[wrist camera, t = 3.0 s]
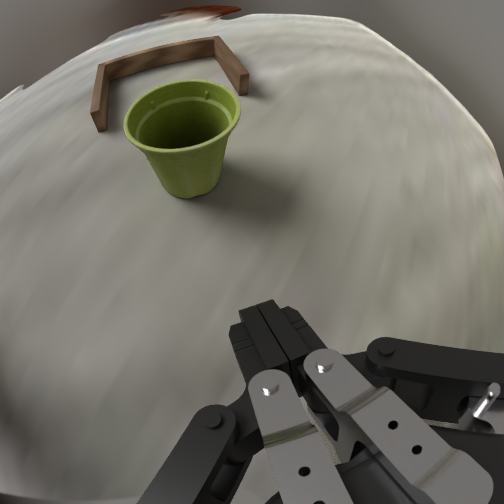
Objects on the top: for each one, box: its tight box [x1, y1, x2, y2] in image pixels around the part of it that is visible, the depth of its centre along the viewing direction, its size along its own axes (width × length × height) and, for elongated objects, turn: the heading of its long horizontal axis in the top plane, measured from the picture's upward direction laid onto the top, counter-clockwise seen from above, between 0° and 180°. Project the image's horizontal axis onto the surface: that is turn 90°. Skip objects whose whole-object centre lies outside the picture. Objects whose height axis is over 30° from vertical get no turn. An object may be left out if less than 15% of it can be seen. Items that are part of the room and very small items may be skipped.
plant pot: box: [124, 79, 241, 198], centre depth 23 cm, size 9×9×9 cm
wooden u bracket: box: [90, 36, 249, 132], centre depth 32 cm, size 20×15×4 cm
